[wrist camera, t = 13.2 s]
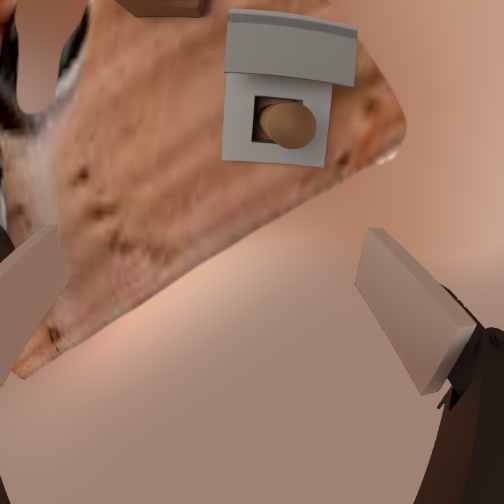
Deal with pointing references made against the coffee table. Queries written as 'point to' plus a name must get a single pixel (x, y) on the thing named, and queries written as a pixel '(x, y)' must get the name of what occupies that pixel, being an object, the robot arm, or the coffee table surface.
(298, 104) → the dowel
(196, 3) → the wooden block
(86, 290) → the coffee table surface
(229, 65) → the socket block
